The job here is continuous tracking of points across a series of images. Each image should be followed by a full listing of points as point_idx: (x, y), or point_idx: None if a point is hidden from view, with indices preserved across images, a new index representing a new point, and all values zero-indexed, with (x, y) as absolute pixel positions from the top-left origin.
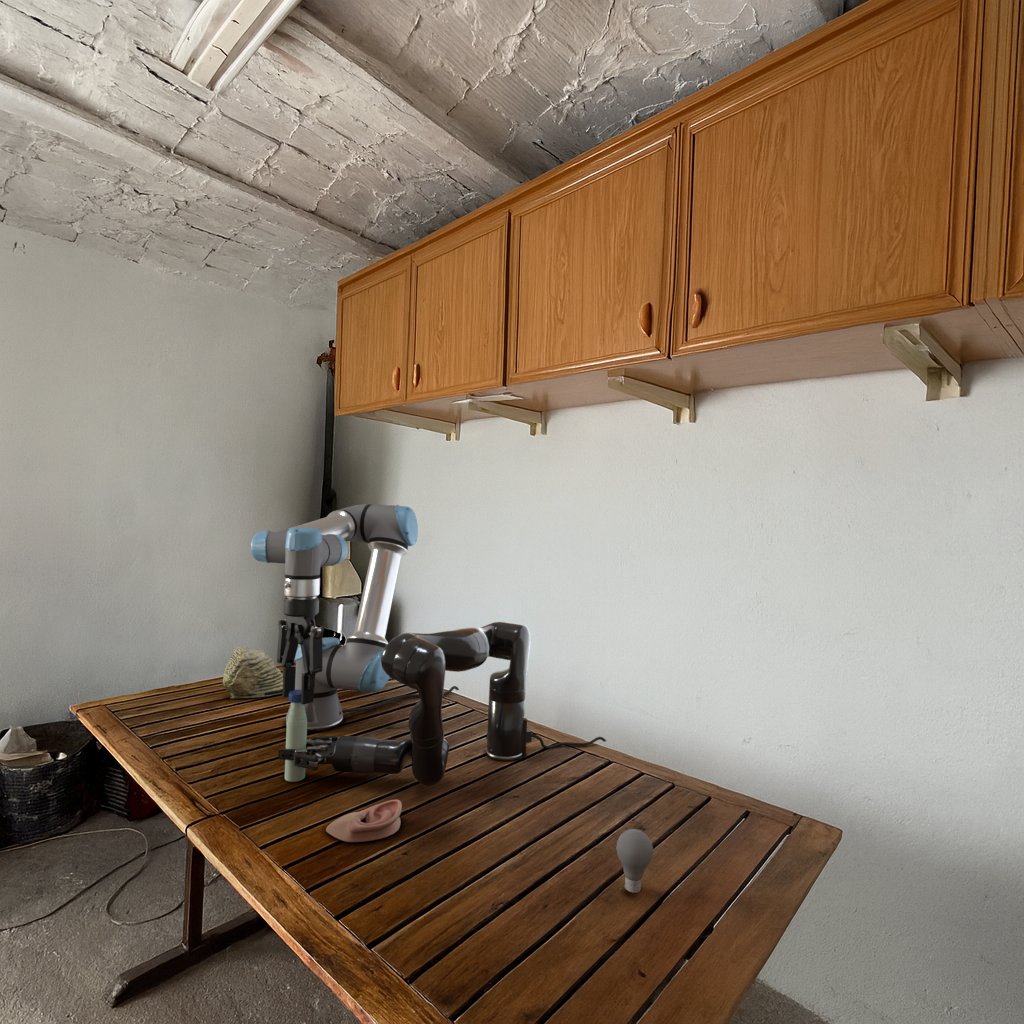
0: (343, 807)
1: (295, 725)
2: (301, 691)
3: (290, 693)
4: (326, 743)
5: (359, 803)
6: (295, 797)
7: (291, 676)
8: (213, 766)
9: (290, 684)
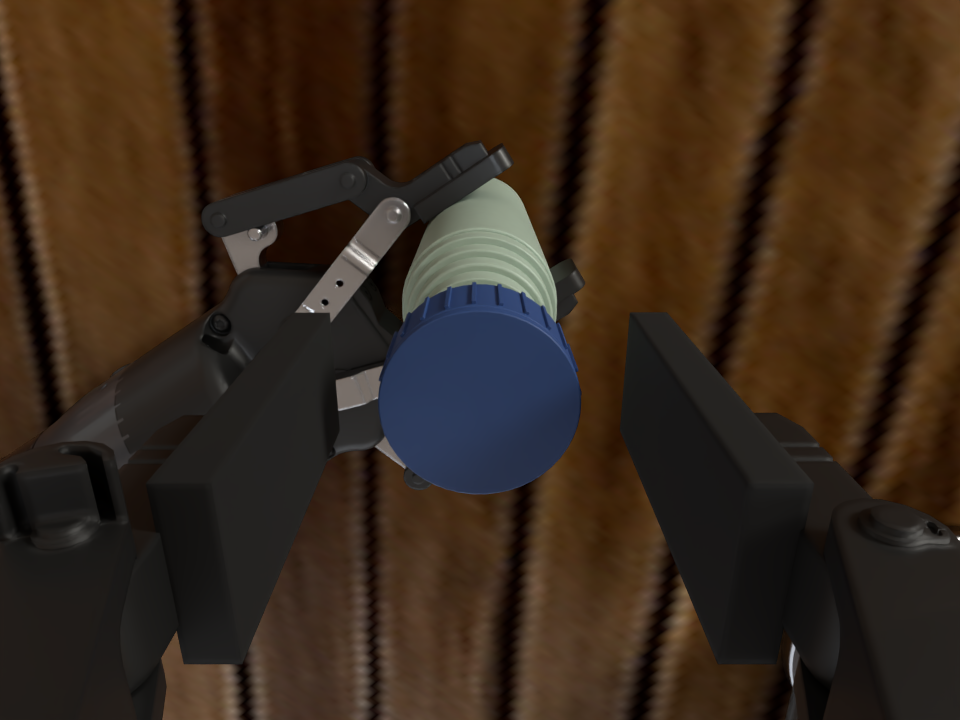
0: (58, 188)
1: (421, 252)
2: (294, 363)
3: (492, 317)
4: (337, 376)
5: (51, 259)
6: (290, 96)
7: (682, 505)
8: (932, 8)
9: (655, 438)
